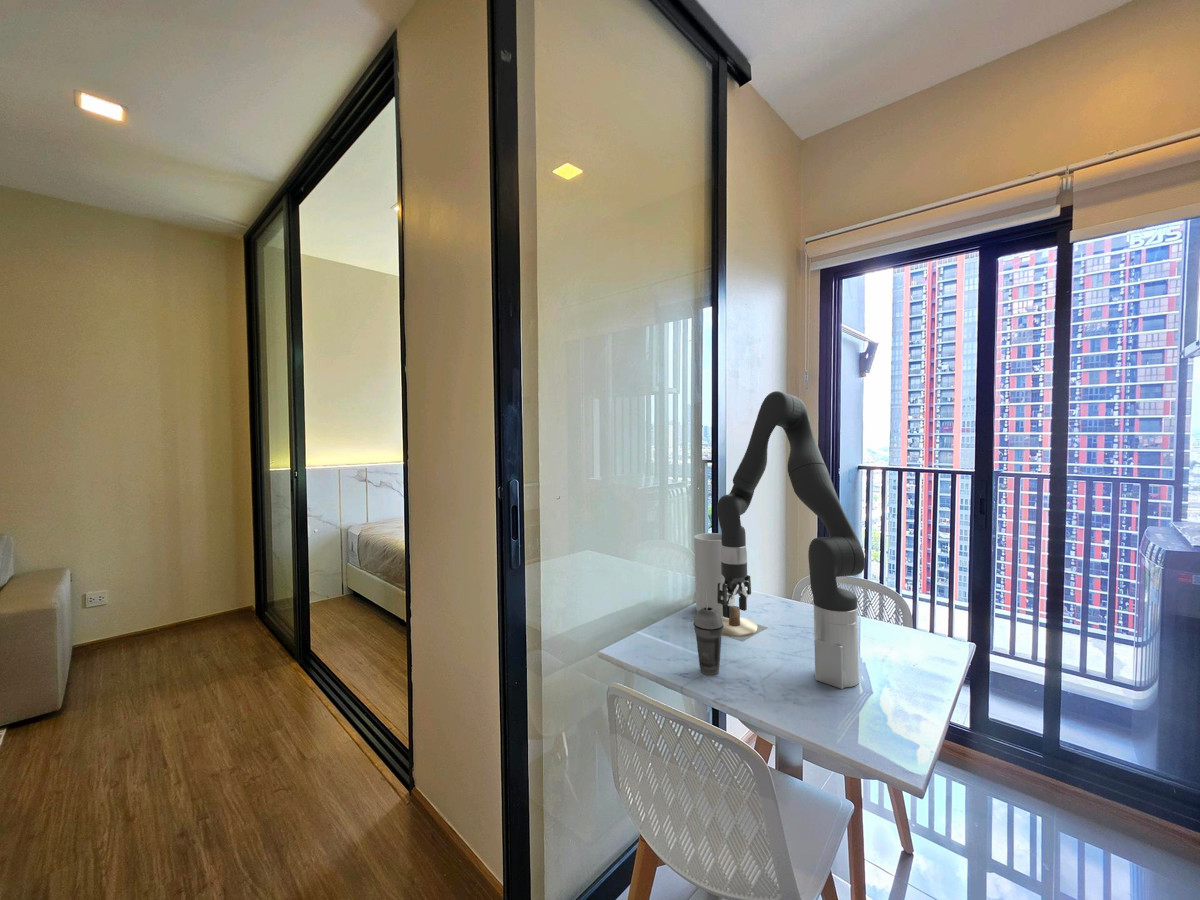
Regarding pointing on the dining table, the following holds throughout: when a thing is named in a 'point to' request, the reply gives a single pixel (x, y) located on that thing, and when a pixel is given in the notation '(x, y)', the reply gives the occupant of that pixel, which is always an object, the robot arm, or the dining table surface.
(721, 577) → the cylinder vase
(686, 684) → the dining table surface
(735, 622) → the lid
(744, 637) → the mat
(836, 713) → the dining table surface
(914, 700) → the dining table surface
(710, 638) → the beverage cup
